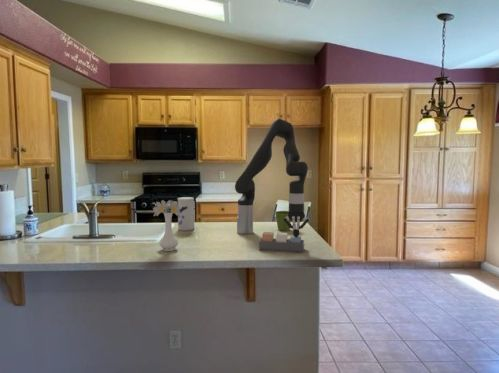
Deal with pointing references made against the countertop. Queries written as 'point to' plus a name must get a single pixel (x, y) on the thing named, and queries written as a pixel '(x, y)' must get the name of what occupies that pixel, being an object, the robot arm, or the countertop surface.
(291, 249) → the key panel
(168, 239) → the flower vase
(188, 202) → the container
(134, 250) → the countertop surface
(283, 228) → the plant pot
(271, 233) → the terracotta key
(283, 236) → the white key
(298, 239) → the slate key
